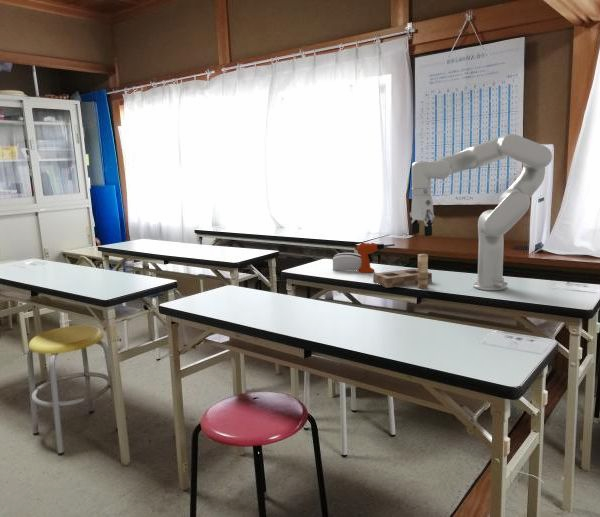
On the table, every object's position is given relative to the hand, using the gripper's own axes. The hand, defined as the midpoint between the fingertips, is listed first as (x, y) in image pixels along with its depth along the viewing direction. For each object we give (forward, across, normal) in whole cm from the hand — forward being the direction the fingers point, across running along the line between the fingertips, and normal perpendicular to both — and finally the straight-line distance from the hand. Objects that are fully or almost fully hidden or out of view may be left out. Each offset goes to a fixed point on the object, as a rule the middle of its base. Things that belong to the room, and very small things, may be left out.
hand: (421, 234), depth 213 cm
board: (+22, +12, +2) cm, 26 cm away
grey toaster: (+22, +48, +12) cm, 54 cm away
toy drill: (+22, +37, +3) cm, 43 cm away
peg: (+22, -1, 0) cm, 22 cm away
